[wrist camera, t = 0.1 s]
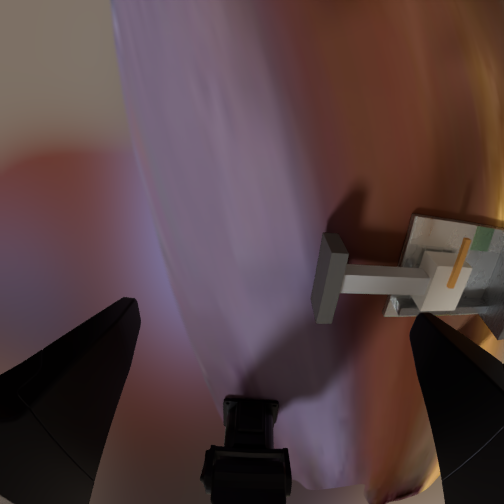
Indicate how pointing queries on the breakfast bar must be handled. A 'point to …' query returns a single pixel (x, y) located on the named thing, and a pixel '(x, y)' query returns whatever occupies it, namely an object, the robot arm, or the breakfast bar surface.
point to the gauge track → (478, 257)
